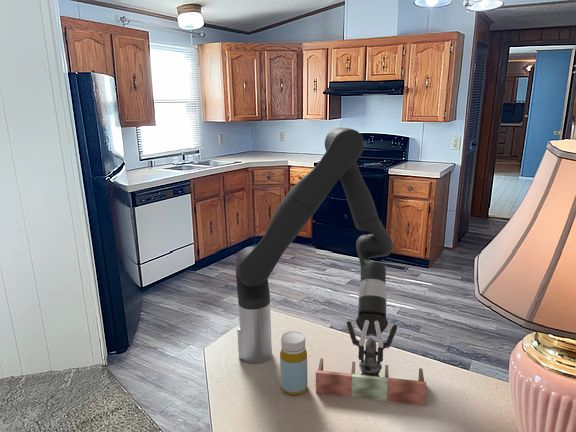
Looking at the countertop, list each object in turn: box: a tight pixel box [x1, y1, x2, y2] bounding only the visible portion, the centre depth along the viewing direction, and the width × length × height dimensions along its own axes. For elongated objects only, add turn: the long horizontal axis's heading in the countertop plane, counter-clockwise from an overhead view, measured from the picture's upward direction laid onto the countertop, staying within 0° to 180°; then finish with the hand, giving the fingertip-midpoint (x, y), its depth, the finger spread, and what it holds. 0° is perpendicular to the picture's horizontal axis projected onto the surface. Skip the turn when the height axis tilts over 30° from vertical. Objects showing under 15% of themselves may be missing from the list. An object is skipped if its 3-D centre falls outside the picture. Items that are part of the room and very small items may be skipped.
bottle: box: [279, 330, 308, 396], centre depth 111 cm, size 7×7×15 cm
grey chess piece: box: [358, 336, 383, 377], centre depth 112 cm, size 6×6×12 cm
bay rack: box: [315, 357, 427, 406], centre depth 112 cm, size 27×10×6 cm, turn 78°
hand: (370, 362), depth 110 cm, fingers closed on grey chess piece, 3 cm apart
